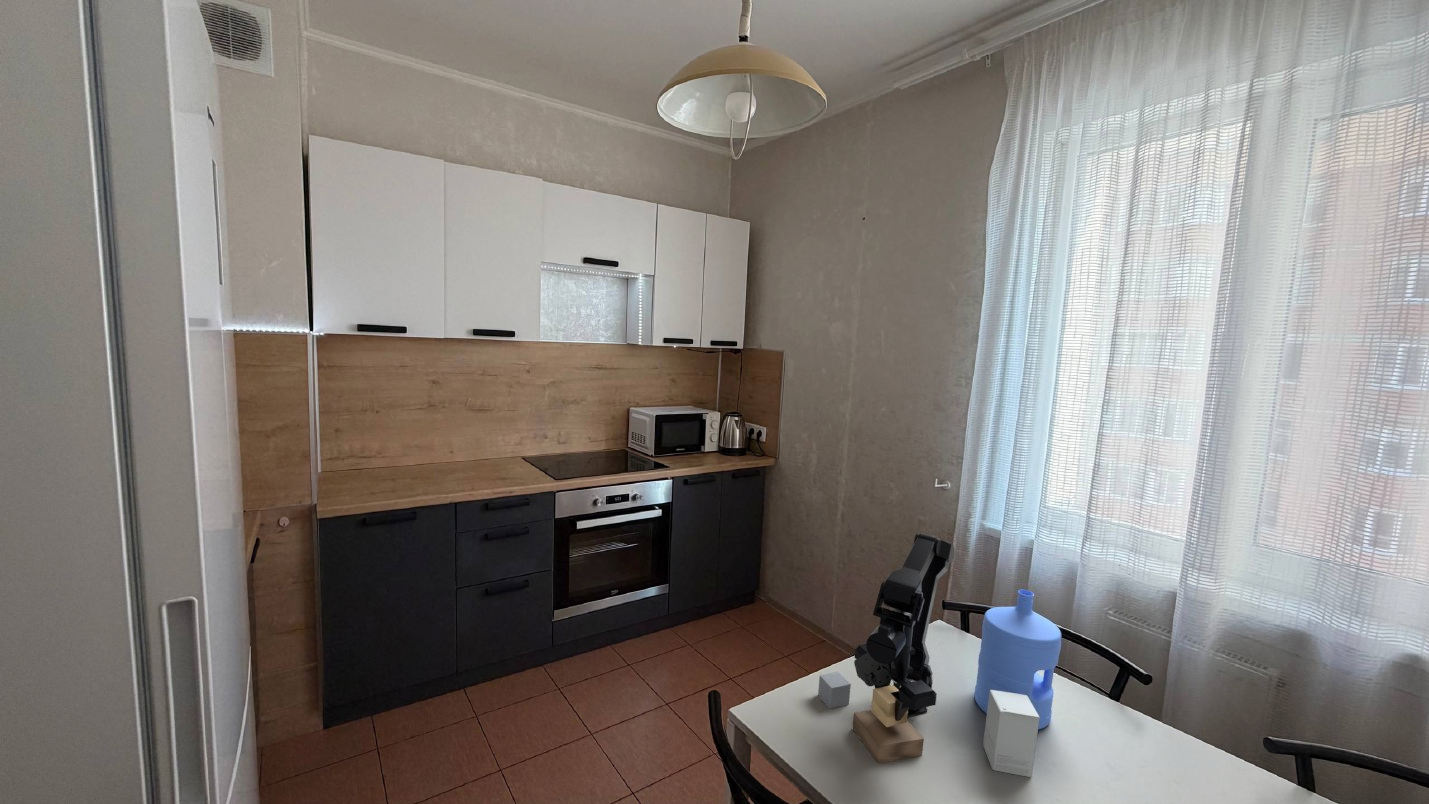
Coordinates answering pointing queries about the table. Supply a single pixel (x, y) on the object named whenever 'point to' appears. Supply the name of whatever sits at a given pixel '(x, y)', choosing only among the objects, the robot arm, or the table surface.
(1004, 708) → the supplement box
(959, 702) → the table surface
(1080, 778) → the table surface
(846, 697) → the grey cube
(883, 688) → the oak cube
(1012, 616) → the water jug
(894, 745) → the walnut block
